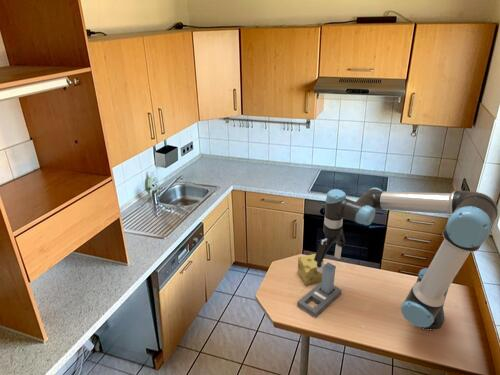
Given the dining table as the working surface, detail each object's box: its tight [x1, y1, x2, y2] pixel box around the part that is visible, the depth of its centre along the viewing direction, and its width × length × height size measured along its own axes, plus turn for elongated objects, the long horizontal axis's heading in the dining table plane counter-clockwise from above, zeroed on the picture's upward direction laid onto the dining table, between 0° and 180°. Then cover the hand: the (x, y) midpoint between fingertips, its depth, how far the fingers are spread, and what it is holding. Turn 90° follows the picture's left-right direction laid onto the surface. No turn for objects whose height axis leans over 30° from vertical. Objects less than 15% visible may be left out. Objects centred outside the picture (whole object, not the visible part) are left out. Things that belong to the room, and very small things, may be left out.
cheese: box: [297, 253, 326, 286], centre depth 184 cm, size 10×11×10 cm
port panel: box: [296, 282, 343, 318], centre depth 171 cm, size 10×20×3 cm, turn 135°
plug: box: [321, 261, 337, 295], centre depth 172 cm, size 4×4×16 cm
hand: (328, 264), depth 168 cm, fingers open, 13 cm apart
